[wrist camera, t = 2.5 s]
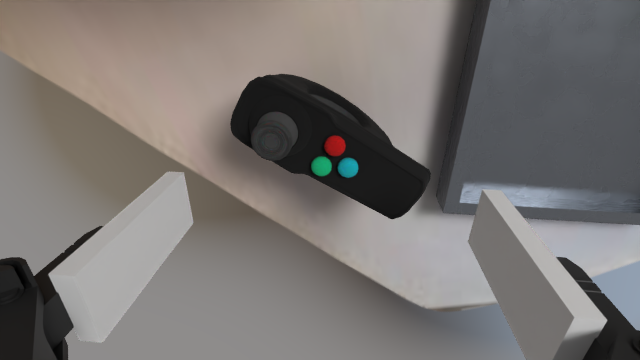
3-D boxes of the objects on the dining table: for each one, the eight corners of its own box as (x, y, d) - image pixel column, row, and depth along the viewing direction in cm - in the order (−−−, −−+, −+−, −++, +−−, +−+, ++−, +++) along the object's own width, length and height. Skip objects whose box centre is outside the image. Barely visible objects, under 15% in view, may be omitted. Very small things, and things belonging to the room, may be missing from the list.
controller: (280, 48, 24) (236, 73, 15) (421, 135, 26) (456, 203, 17) (255, 99, 26) (203, 149, 17) (388, 176, 28) (404, 257, 19)
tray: (486, -46, 20) (502, -53, 18) (797, -45, 19) (855, -52, 17) (436, 196, 28) (443, 212, 26) (651, 208, 27) (678, 227, 24)
